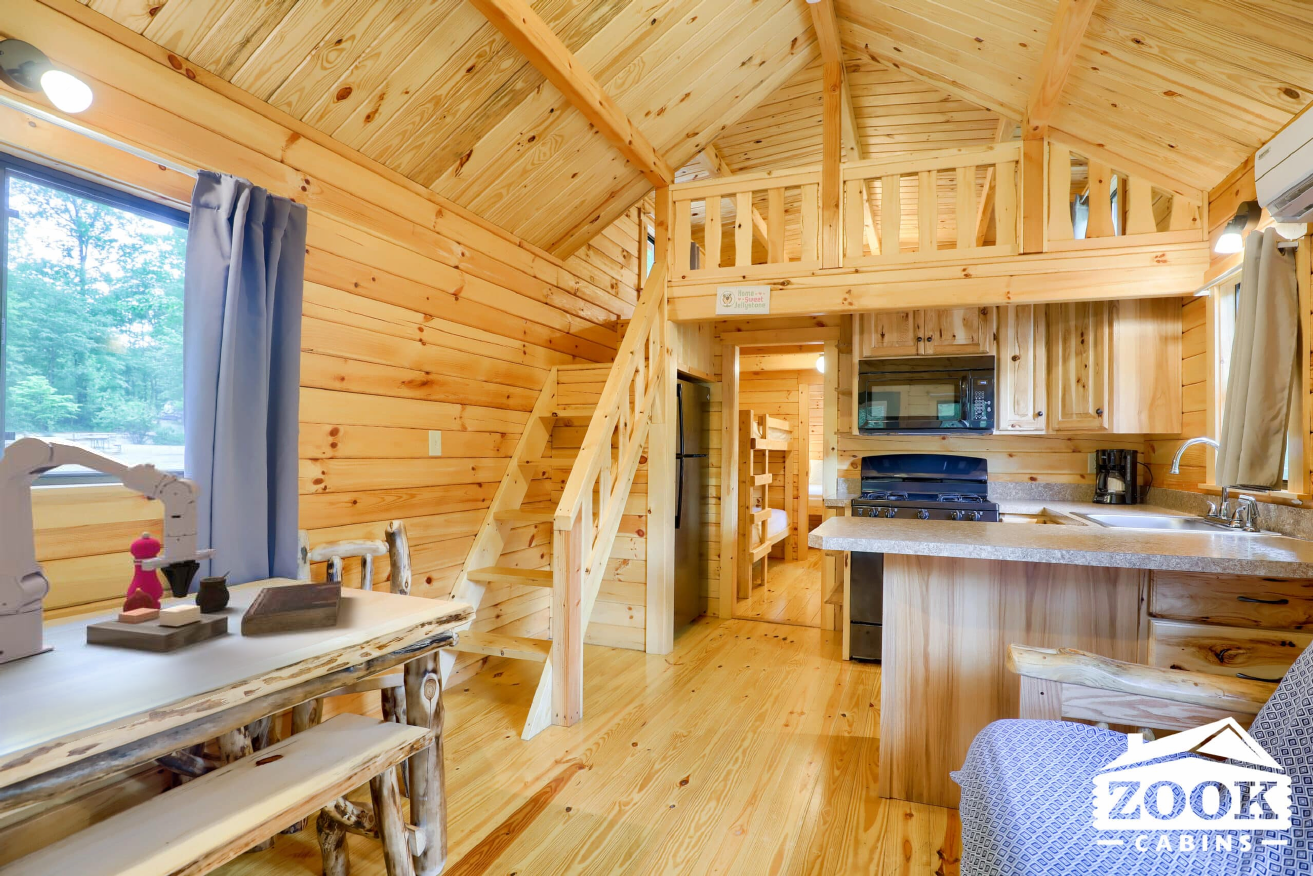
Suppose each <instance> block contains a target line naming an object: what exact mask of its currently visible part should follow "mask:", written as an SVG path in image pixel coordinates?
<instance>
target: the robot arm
mask: <svg viewBox="0 0 1313 876" xmlns="http://www.w3.org/2000/svg"><path fill="white" fill-rule="evenodd" d="M3 452H4V453H3V454H4V455H3V457H2V459H1V460H0V664H4V663H7V662H10V661H11V662H12V661H14V660H18V659H22V658H25V657H29V656H34V655H36V654H40V653H44V652H47V651H51V650H54V649H55V646H54V645H53V646H51V645H45V644H44V637H43V636H44V603H43V599H44V598H45V597H46V596H47V595H48V594H49V592H50V589H51V584H50V581H49V579H48V577H46V575H45V573H44V569H43V568H44V567H43V566H42V564H41V563H40V562H39V561H38V560H37V558H36V548H35V537H34V536H35V535H34V522H33V521H34V520H33V507H32V506H33V505H32V493H31V484H32V483H33V482H35V481H36V480H37V479H38V478H40V477H41V476H42V475H44V474H45V473H47V472H49V471H51V470H54V469H56V468H59V467H61V466H64V465H79V466H82V467H84V468H87V469H91V470H93V471H96V472H100V473H102V474H105V475H109V476H111V477H114V478H118V479H120V481H121V482H122V484H123V486H124V487H125V488H127V489H129V490H132V491H134V492H138V493H139V494H143V495H145V496H147V497H151V498H153V499H156V500H160V502H161V503H162V505H164V514H163V555H161V556H157V558H153V559H149V560H144V561H142V570H147V571H150V570H154V569H156V570H157V569H160V572H161V573H162V574H163V575H164V577H165V578H166V580H167V582H168V584H169V586H170V590H171V592H172V596H173V598H175V599H182V598H187V597H188V596H187V595H188V593H189V589H190V587H191V583H192V581H193V580H194V577H195V575H196V573H197V571H198V570H199V569H200V567H201V563H200V562H197V561H203V560H208V559H211V560H212V559H215V558H216V549H213V548H211V549H210V548H207V549H201V550H198V549H197V548H198V545H197V544H198V534H197V533H198V513H197V506H198V505H197V500H198V499H199V498H200V497H201V493H202V492H201V487H200V485H199V484H198V483H197V482H196V481H194V480H192V479H191V478H190V477H189V478H188V477H184V478H183V477H182V478H179V474H177V473H174V472H173V473H170V472H169V473H168V472H167V471H164V470H161V469H158V468H156V464H154V463H151V462H146V463H143V462H139V463H136V464H129V463H126V462H124V461H121V460H119V459H116V458H114V457H112V456H110V455H107V454H105V453H103V452H100V451H98V450H96V449H93V448H91V447H89V446H86V445H83V444H80V443H78V442H74V441H71V440H66V439H64V438H62V437H58V436H49V437H34V436H27V437H21V438H20V439H17V440H16V441H14V442H13V443H11V444H9V445H8V446H7V447H5V448H4V451H3Z"/></svg>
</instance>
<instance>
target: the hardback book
mask: <svg viewBox="0 0 1313 876" xmlns="http://www.w3.org/2000/svg"><path fill="white" fill-rule="evenodd" d="M341 598H342V580H334V581H325V582H324V581H323V582H315V583H305V584H294V585H292V584H291V585H282V586H274V587H272V586H271V587H263V588H262V589H261V590H260V592H259V594H257V596H256V597H255V599H254V601H252V603H251V605H250V606H249V607H248V608H247V610H246V612H245V613H244V615H243V616H242V618H241V622H240V634H241V637H243V636H252V635H261V634H269V633H278V632H279V633H280V632H289V631H291V632H292V631H297V630H299V631H300V630H307V629H318V628H326V627H335V626H337V620H338V615H339V609H340V604H341Z"/></svg>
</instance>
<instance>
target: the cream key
mask: <svg viewBox="0 0 1313 876" xmlns="http://www.w3.org/2000/svg"><path fill="white" fill-rule="evenodd" d="M200 614H201V611H200V606H197V605H194V604H193V605H191V604H179V605H176V606H172V607H168V608H163V609H160V625H169V626H180V625H184V624H187V623H191V622H194V621H198V620H200Z"/></svg>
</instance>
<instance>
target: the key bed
mask: <svg viewBox="0 0 1313 876" xmlns="http://www.w3.org/2000/svg"><path fill="white" fill-rule="evenodd" d="M157 610H159V618H155V619H151V620H147V621H144V622H140V623H136V624H131V623H122V622H118V617H117V618H113V619H109V620H105V621H101V622H98V623H94V624H91V625H86V643H88V644H89V643H90V644H96V645H97V644H98V645H104V646H111V647H112V646H113V647H120V648H121V647H122V648H126V649H127V648H128V649H135V650H142V651H151V652H159V653H167V652H169V651H173V650H175V649H179V648H183V647H185V646H186V647H187V646H188V645H191V644H196V643H198V642H201V641H203V640H207V639H210V638H214V637H216V636H217V637H218V636H220V635H223V634H225V633H228V631H229V624H228V623H229V622H228V621H229V617H228V616H227V615H226V616H225V615H217V614H205V613H200V620H198V621H194V622H191V623H187V624H184V625H180V626H169V625H160V610H161V609H157Z"/></svg>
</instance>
